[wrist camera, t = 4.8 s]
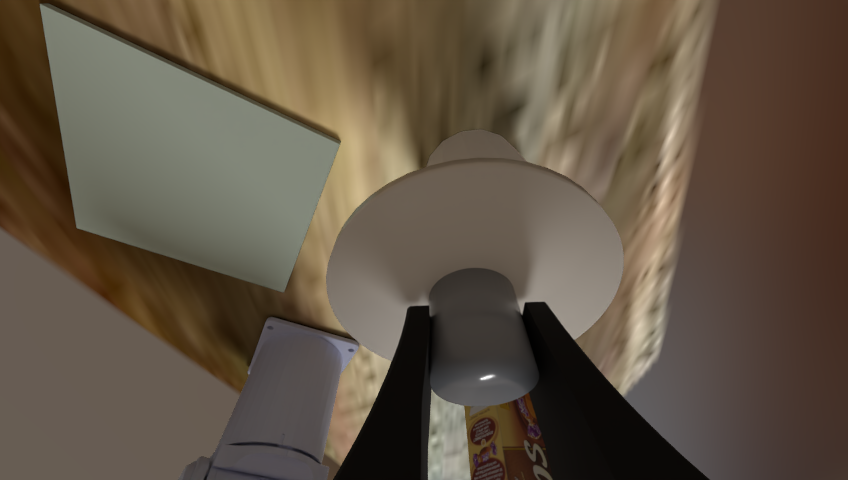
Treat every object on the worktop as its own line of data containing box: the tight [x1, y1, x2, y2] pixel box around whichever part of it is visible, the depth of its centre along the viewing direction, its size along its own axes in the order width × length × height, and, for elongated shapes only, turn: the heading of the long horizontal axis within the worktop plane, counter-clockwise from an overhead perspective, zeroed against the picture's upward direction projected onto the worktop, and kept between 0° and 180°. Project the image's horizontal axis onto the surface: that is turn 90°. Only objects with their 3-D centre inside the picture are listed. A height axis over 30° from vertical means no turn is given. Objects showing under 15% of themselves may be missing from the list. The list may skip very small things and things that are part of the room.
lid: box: [326, 158, 624, 406], centre depth 10 cm, size 10×10×4 cm
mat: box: [40, 3, 341, 293], centre depth 19 cm, size 13×13×1 cm
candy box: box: [464, 392, 553, 480], centre depth 26 cm, size 9×4×15 cm, turn 54°
